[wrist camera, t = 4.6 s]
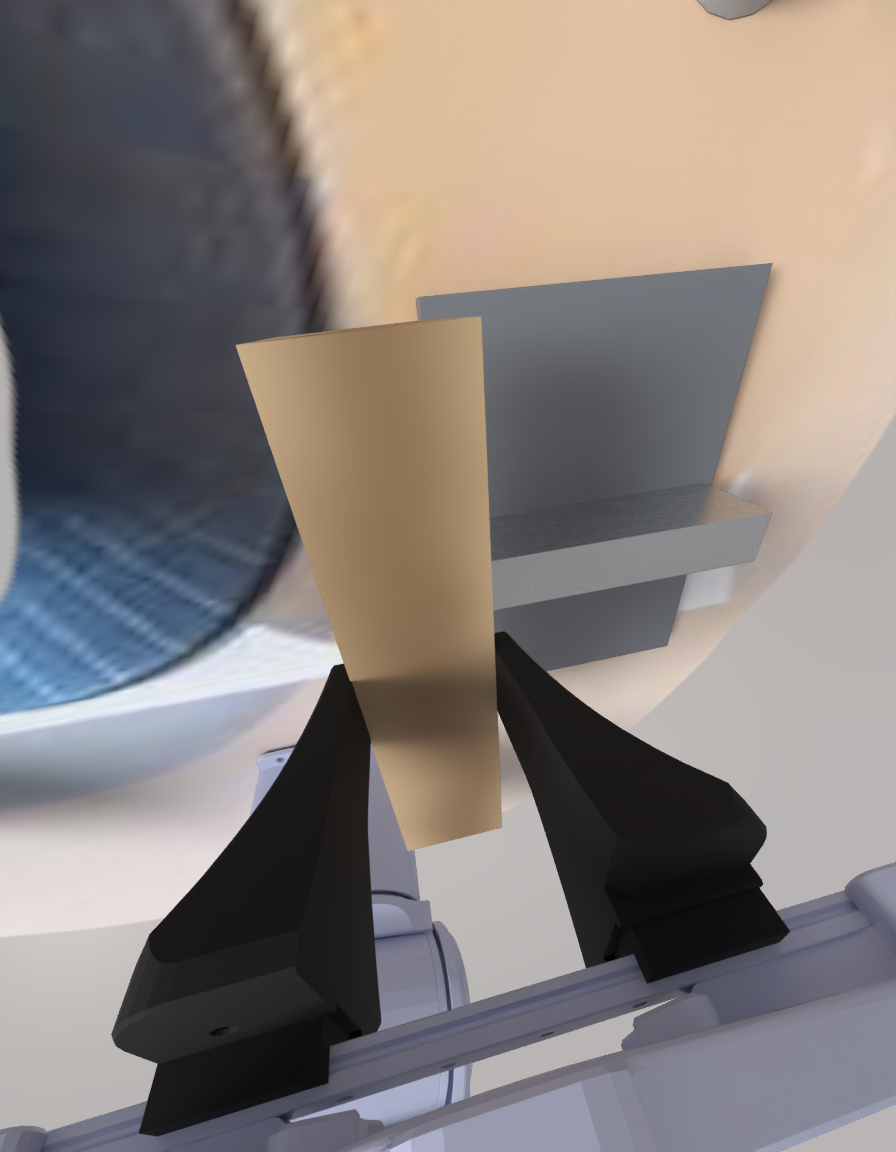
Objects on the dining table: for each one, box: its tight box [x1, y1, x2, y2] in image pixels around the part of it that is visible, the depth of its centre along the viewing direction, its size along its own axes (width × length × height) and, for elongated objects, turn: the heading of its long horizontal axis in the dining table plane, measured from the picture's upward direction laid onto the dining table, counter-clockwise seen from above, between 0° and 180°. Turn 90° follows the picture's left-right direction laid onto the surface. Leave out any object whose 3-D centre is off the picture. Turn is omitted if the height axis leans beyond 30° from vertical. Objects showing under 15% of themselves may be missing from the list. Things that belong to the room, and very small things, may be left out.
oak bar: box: [236, 316, 502, 851], centre depth 13 cm, size 4×18×4 cm, turn 6°
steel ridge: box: [489, 483, 772, 610], centre depth 18 cm, size 13×2×4 cm, turn 95°
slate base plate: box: [416, 263, 772, 671], centre depth 20 cm, size 14×20×1 cm
